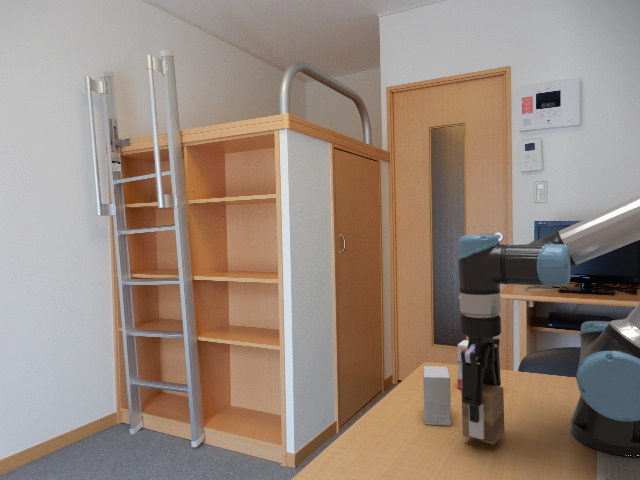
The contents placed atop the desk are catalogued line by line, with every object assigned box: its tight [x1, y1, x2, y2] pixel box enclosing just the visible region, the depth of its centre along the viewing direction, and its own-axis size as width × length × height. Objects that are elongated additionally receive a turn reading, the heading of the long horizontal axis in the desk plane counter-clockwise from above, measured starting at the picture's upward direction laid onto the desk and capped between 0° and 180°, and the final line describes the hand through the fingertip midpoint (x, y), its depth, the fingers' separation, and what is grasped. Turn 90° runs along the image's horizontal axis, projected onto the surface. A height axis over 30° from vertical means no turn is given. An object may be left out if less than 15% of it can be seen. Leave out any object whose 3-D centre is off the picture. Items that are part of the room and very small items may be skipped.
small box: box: [422, 365, 452, 427], centre depth 104 cm, size 8×6×10 cm
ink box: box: [457, 339, 480, 391], centre depth 121 cm, size 9×5×12 cm, turn 55°
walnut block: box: [460, 384, 505, 445], centre depth 92 cm, size 6×6×9 cm
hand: (483, 430), depth 92 cm, fingers closed on walnut block, 6 cm apart
